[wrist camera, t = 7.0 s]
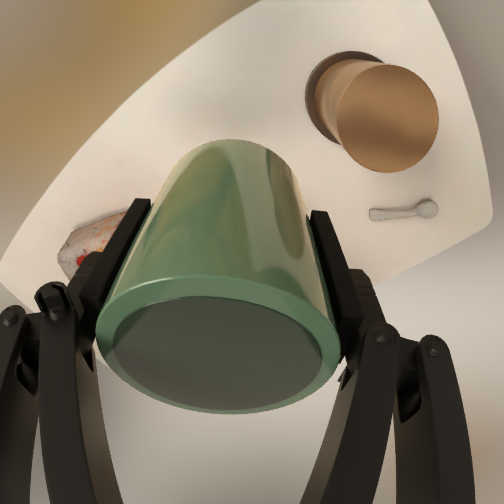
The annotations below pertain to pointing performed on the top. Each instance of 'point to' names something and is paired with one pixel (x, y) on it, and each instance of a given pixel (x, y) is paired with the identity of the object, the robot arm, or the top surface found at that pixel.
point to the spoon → (406, 212)
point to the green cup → (223, 289)
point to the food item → (86, 243)
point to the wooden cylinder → (372, 110)
